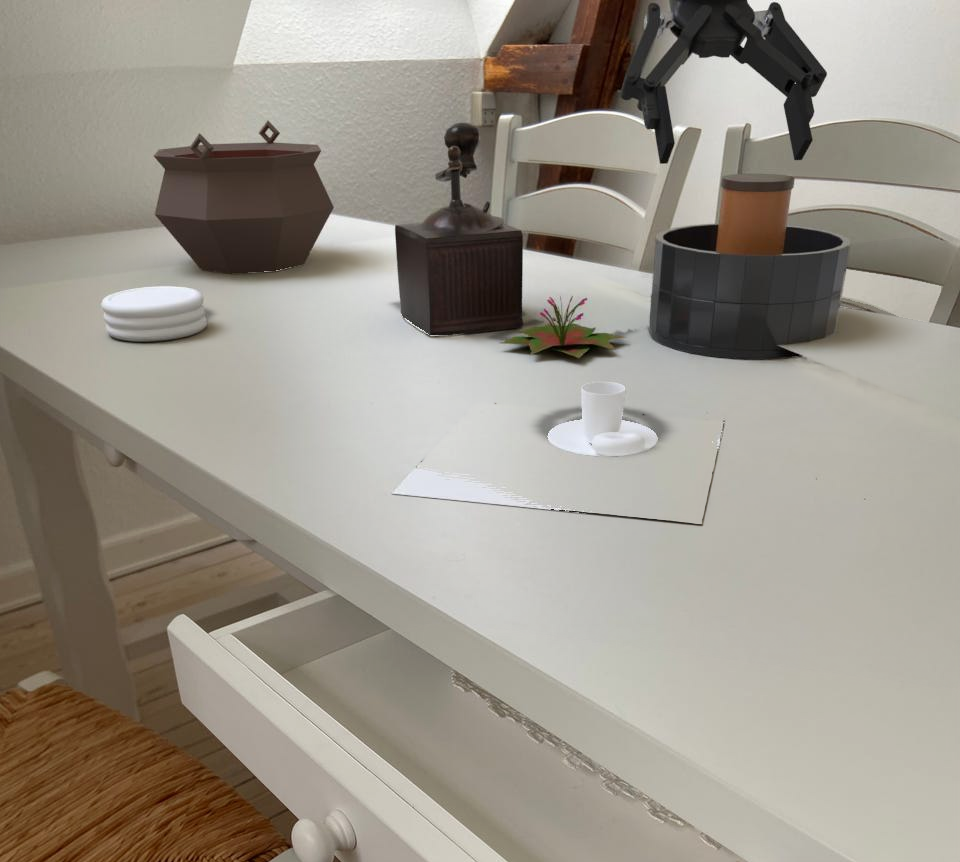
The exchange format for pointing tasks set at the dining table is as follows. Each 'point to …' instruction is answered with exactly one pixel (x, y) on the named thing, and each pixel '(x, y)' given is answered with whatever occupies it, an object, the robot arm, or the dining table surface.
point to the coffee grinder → (460, 258)
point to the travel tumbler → (754, 213)
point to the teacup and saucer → (575, 436)
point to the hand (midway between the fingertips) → (735, 152)
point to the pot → (745, 293)
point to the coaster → (154, 313)
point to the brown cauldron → (243, 203)
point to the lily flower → (562, 334)
